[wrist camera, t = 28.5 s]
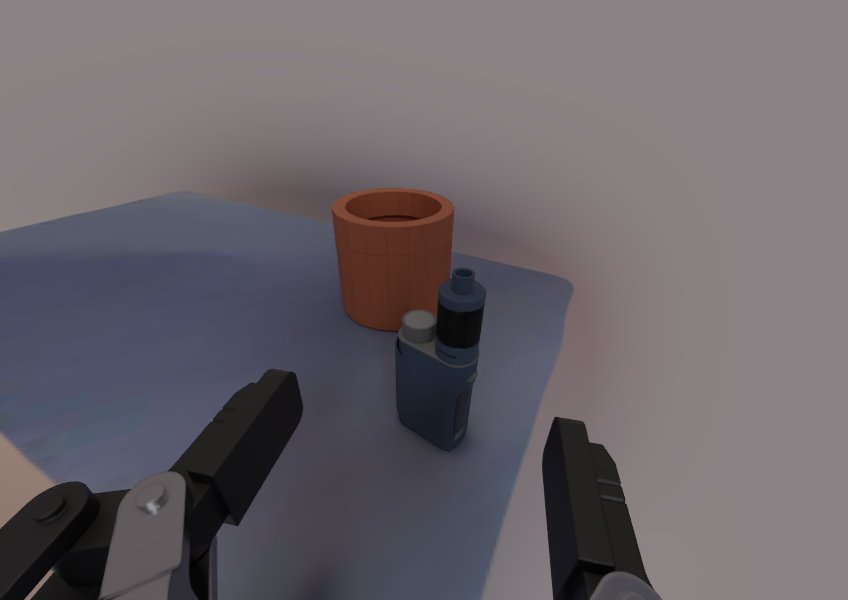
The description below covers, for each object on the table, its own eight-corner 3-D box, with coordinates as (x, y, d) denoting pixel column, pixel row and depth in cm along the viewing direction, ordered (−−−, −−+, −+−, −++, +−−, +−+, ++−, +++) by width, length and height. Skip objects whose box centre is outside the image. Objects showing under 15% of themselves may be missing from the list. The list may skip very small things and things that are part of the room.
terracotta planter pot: (453, 281, 41) (459, 192, 36) (438, 338, 32) (444, 232, 27) (363, 271, 43) (357, 184, 37) (326, 322, 34) (310, 219, 28)
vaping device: (453, 459, 22) (472, 292, 16) (389, 416, 25) (383, 258, 18) (475, 431, 24) (499, 271, 18) (413, 394, 27) (414, 242, 20)
